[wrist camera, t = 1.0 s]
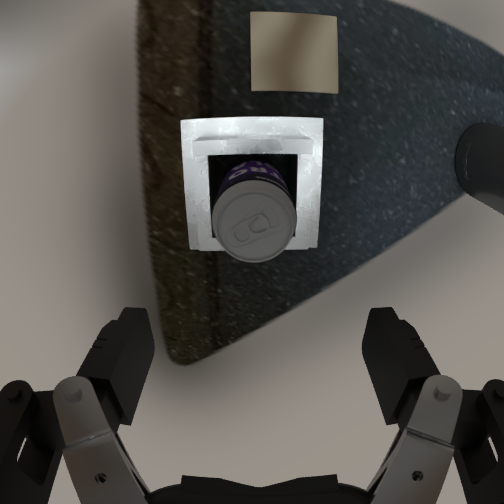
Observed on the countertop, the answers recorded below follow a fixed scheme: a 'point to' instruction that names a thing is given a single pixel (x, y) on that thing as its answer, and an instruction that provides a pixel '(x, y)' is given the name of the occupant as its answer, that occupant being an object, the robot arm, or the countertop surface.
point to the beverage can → (253, 211)
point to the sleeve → (252, 142)
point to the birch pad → (294, 52)
